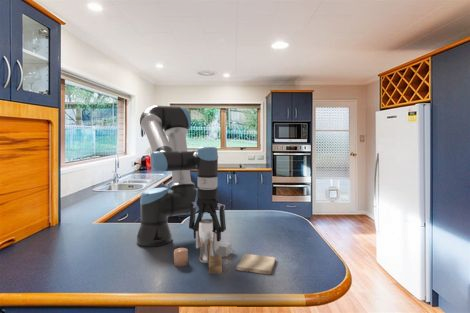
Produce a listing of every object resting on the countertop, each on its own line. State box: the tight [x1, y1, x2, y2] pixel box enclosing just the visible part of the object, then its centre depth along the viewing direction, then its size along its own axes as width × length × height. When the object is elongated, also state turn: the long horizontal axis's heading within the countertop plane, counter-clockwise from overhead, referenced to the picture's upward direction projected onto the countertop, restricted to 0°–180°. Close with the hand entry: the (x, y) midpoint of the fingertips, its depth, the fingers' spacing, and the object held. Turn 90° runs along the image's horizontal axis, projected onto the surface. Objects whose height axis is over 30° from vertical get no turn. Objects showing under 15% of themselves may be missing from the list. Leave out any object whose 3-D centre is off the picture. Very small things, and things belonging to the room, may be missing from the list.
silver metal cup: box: [198, 218, 216, 264], centre depth 109 cm, size 7×7×15 cm
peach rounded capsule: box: [173, 247, 189, 267], centre depth 106 cm, size 5×5×5 cm
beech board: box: [236, 253, 276, 275], centre depth 105 cm, size 12×12×1 cm
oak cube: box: [208, 255, 223, 275], centre depth 101 cm, size 4×4×4 cm
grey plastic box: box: [214, 240, 233, 257], centre depth 116 cm, size 5×5×4 cm
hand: (207, 248), depth 109 cm, fingers closed on silver metal cup, 7 cm apart
